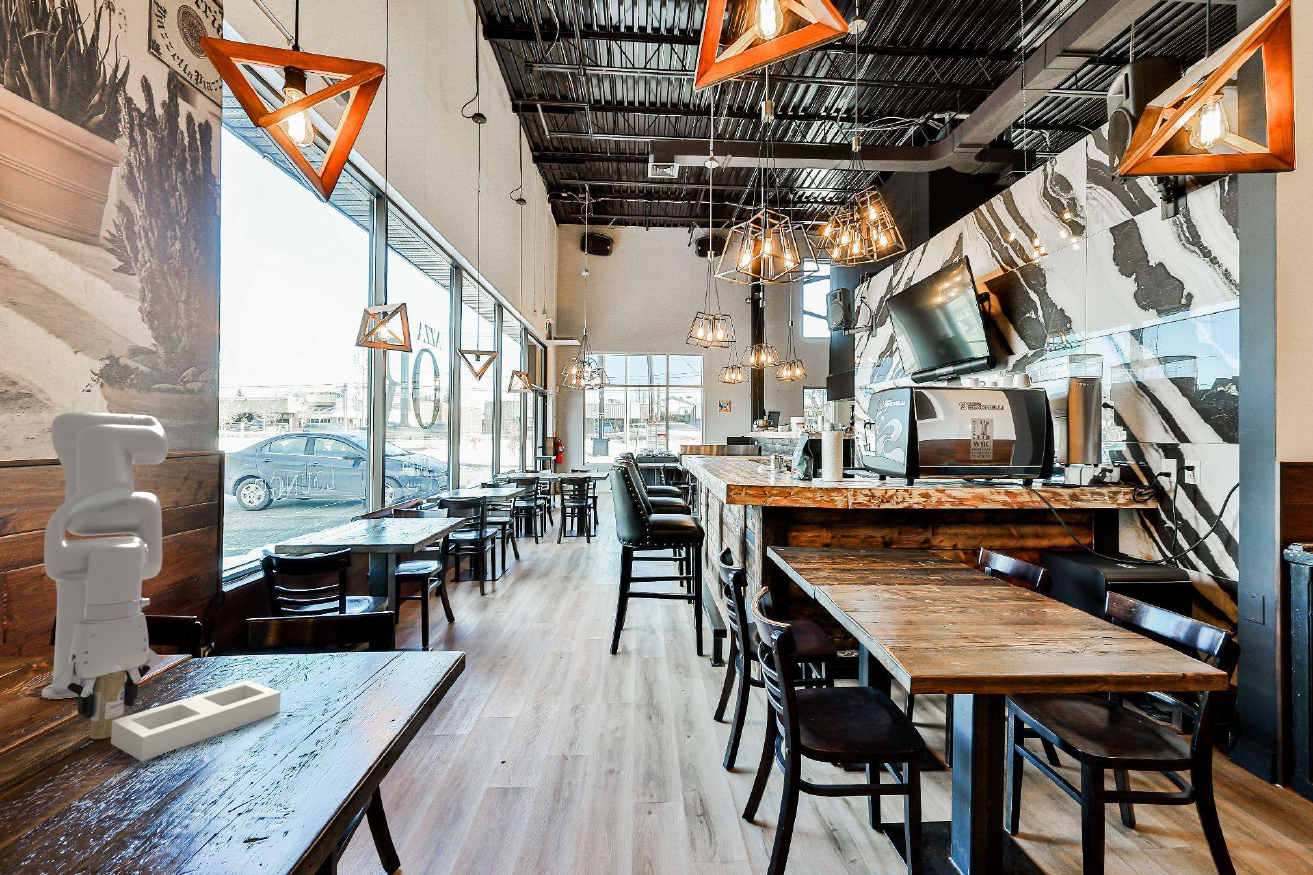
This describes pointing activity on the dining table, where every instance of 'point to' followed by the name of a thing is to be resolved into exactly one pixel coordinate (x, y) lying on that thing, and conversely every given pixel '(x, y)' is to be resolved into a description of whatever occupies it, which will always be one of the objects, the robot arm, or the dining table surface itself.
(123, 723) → the condiment rack
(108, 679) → the sprinkles bottle
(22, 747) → the dining table surface
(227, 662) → the dining table surface
